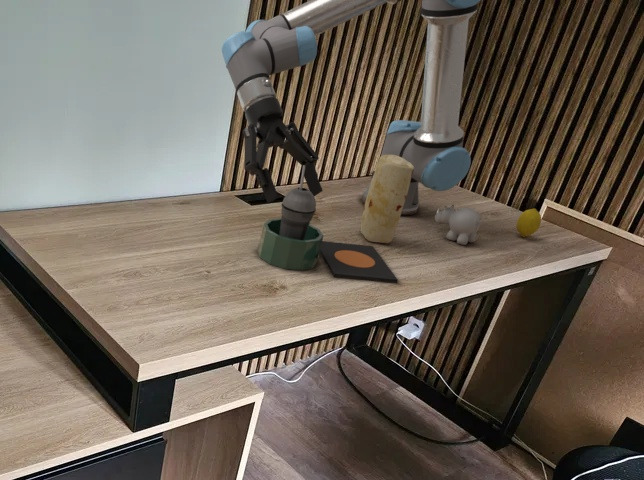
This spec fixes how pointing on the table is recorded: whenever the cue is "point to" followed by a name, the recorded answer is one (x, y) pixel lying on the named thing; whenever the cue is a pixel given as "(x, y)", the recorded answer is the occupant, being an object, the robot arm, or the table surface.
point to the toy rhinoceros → (460, 223)
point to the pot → (289, 247)
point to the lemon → (528, 222)
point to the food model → (386, 198)
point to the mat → (355, 262)
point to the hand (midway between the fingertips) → (295, 197)
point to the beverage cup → (297, 212)
